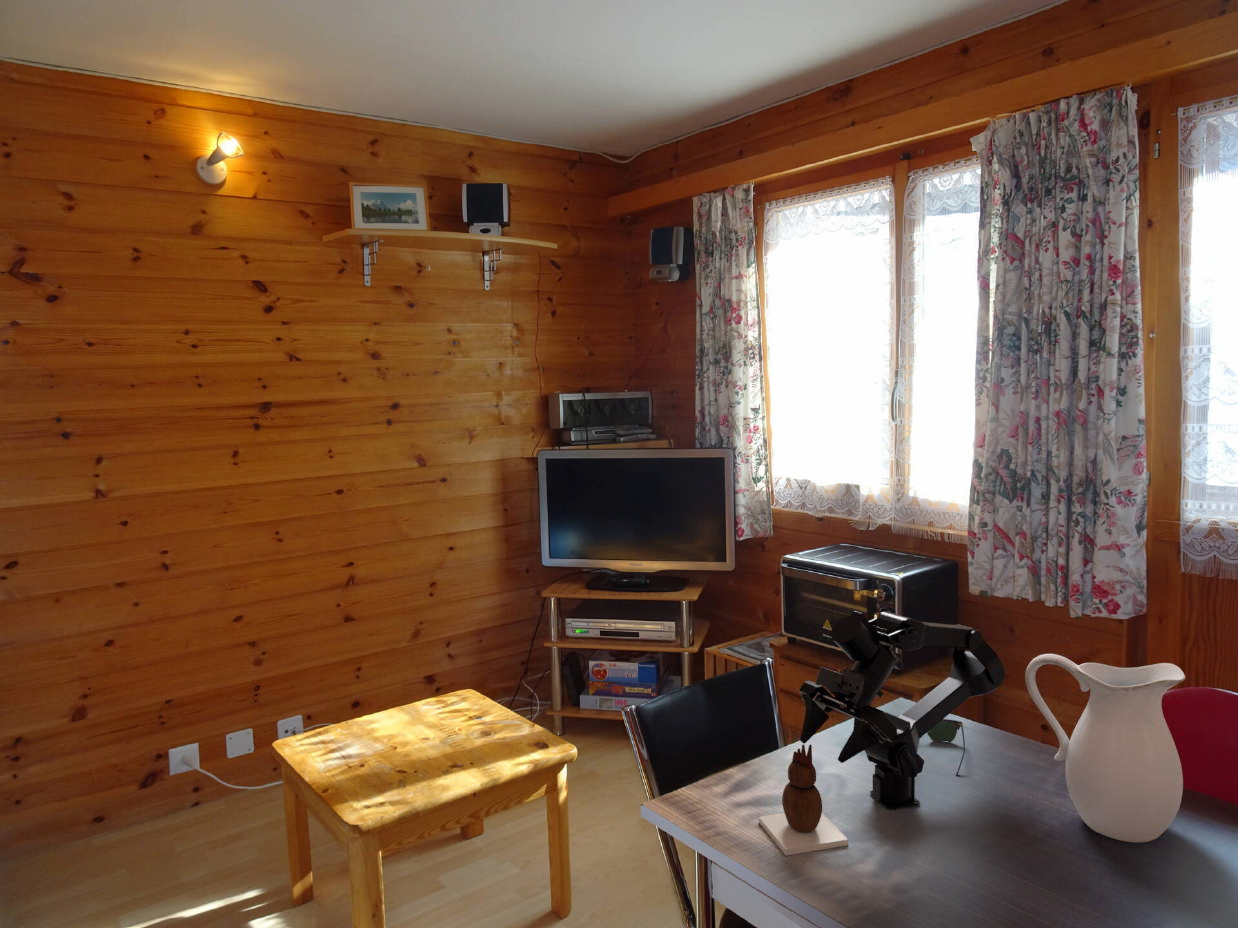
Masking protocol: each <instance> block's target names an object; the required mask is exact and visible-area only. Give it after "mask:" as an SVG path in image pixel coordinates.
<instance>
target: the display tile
mask: <svg viewBox="0 0 1238 928" xmlns="http://www.w3.org/2000/svg"><path fill="white" fill-rule="evenodd" d="M758 824H760V826H761V827H762V828H763V829H764V831H765V832H766V833H767V834H768V835H769V837H770V838H771V839H772V840H773V842H774V843H775V844H776V845H777V847H778V846H779V847H778V848H779V849H780V850H781V852H782V853H783V854H784V855H785V856H791V855H797V854H803V853H810V852H815V851H823V850H828V849H833V848H839V847H845V846H848V845H849V839H848V838H847V836H845V834H843V833H842V832H841V830H839V829H838V827H837V826H836V825H834V823H832V821H831V820H829V818H828V817H827V816H826V815H825V814H824V813H823V812H822V814H821V818H820V821H819V823H818V825H817V827H816V829H815V830H813V831H811V832H799V831H796V830H794V829H793V828H792V827H791V826H790V825H789V824H788V822H787V819H786V815H785V813H784V812H783V813H775V814H770V815H769V814H768V815H762V816H758Z"/></svg>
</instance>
